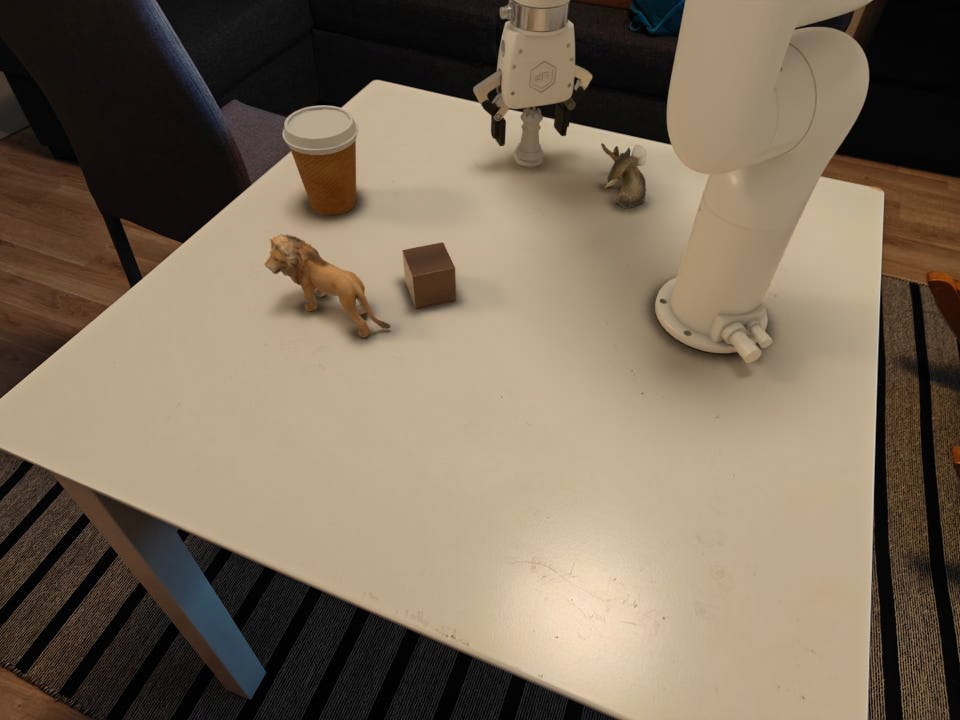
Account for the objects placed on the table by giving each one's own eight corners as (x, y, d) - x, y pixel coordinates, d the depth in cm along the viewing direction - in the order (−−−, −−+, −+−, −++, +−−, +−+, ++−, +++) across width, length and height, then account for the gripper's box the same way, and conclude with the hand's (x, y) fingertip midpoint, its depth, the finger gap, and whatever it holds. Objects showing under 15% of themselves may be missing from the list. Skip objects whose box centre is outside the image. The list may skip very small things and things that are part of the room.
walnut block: (456, 300, 77) (455, 267, 73) (415, 308, 76) (412, 276, 72) (444, 274, 80) (443, 241, 77) (405, 282, 79) (402, 249, 76)
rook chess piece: (509, 155, 99) (512, 105, 93) (537, 151, 100) (541, 101, 94) (519, 171, 96) (522, 120, 90) (547, 166, 97) (552, 116, 91)
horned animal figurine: (583, 166, 95) (593, 190, 88) (615, 124, 92) (628, 146, 85) (622, 192, 98) (635, 218, 91) (654, 153, 94) (670, 177, 87)
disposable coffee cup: (378, 189, 93) (368, 109, 84) (351, 227, 87) (338, 145, 78) (317, 178, 94) (301, 99, 85) (286, 215, 88) (266, 134, 79)
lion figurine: (271, 307, 76) (251, 246, 69) (297, 280, 79) (281, 219, 73) (379, 345, 72) (370, 284, 65) (402, 315, 75) (396, 254, 69)
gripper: (484, 32, 78) (482, 158, 91) (613, 16, 82) (593, 140, 95) (465, 9, 83) (466, 132, 96) (588, -5, 87) (573, 116, 100)
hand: (529, 136), depth 95 cm, fingers open, 9 cm apart
